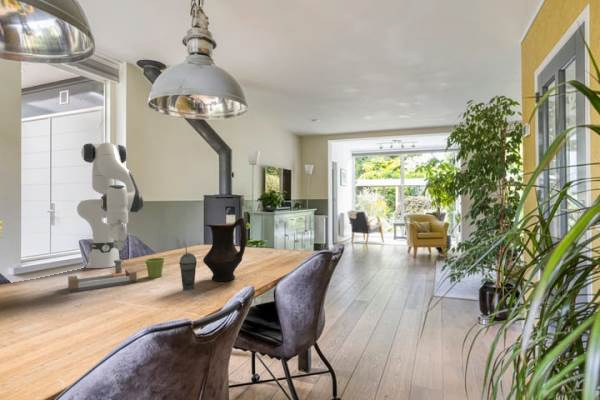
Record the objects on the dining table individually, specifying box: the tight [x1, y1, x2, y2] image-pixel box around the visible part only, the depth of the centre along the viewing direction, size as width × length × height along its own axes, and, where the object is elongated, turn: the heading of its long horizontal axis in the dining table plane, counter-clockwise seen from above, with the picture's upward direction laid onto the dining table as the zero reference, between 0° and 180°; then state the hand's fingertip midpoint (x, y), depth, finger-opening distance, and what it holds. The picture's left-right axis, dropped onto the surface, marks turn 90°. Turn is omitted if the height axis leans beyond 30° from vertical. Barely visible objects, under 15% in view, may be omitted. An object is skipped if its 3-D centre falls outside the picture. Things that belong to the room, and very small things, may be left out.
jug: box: [202, 216, 247, 282], centre depth 165 cm, size 21×18×30 cm
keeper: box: [110, 259, 126, 278], centre depth 160 cm, size 7×5×9 cm
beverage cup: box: [178, 242, 198, 292], centre depth 148 cm, size 7×7×20 cm
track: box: [67, 268, 138, 293], centre depth 157 cm, size 10×26×5 cm, turn 127°
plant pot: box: [144, 257, 166, 279], centre depth 172 cm, size 9×9×9 cm
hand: (118, 249), depth 160 cm, fingers open, 8 cm apart
